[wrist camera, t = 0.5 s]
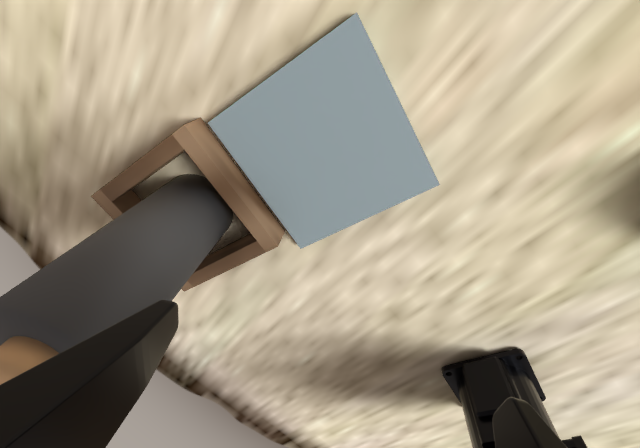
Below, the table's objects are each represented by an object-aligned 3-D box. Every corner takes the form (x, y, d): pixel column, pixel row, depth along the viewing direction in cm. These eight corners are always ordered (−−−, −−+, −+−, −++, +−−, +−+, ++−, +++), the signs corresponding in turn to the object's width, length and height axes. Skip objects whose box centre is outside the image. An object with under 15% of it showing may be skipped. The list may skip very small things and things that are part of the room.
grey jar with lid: (246, 220, 22) (111, 411, 11) (197, 247, 24) (36, 434, 12) (199, 161, 21) (-23, 312, 9) (150, 194, 22) (-87, 356, 11)
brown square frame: (284, 230, 22) (277, 246, 21) (196, 274, 26) (184, 291, 24) (200, 117, 19) (183, 124, 17) (112, 184, 22) (90, 196, 21)
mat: (437, 180, 19) (439, 184, 18) (302, 244, 23) (300, 248, 22) (357, 13, 15) (356, 12, 15) (212, 120, 19) (207, 122, 19)
